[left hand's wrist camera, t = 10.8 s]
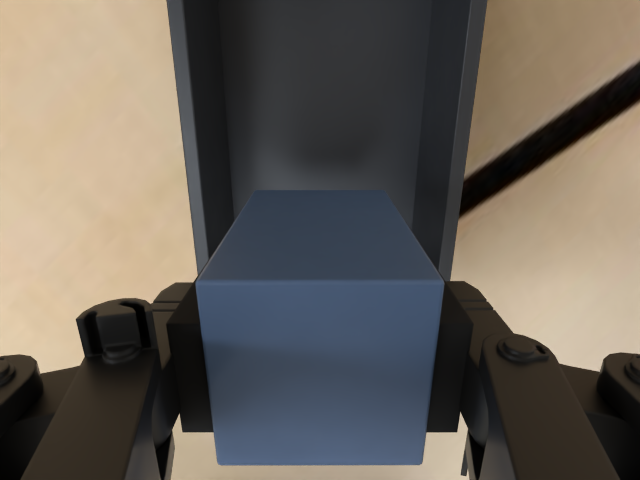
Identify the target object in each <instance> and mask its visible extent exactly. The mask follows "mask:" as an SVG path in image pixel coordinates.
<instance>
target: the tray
mask: <svg viewBox="0 0 640 480" xmlns="http://www.w3.org/2000/svg"><path fill="white" fill-rule="evenodd" d="M486 6H487V0H167V8H168V17H169V26H170V34H171V43H172V52H173V61H174V70H175V78H176V87H177V96H178V105H179V114H180V122H181V131H182V140H183V149H184V158H185V167H186V175H187V184H188V193H189V202H190V211H191V219H192V228H193V237H194V246H195V255H196V263H197V272H198V275H199V273H200V272H201V270H202V269H203V267H204V266H205V264H206V263H207V261H208V260H209V258H210V257H211V255H212V254H213V252H214V251H215V249H216V248H217V246H218V245H219V244H220V242H221V241H222V239H223V238H224V236H225V235H226V233H227V232H228V230H229V229H230V227H231V226H232V224H233V223H234V222H235V220H236V218H237V217H238V215H239V214H240V212H241V211H242V209H243V208H244V206H245V205H246V203H247V202H248V200H249V198H250V197H251V195H252V194H253V192H254V191H255V190H384V191H385V192H386V193H387V195H388V196H389V198H390V199H391V201H392V202H393V204H394V205H395V207H396V209H397V210H398V212H399V213H400V215H401V216H402V218H403V219H404V221H405V222H406V223H407V225H408V226H409V228H410V229H411V231H412V232H413V234H414V235H415V237H416V238H417V240H418V241H419V243H420V244H421V246H422V247H423V249H424V250H425V252H426V253H427V255H428V256H429V257H430V259H431V260H432V262H433V263H434V265H435V266H436V268H437V269H438V271H439V272H440V274H441V275H442V277H443V278H444V280H445V281H450V277H451V270H452V262H453V255H454V247H455V240H456V232H457V225H458V217H459V210H460V202H461V195H462V187H463V180H464V172H465V165H466V157H467V149H468V142H469V134H470V127H471V119H472V112H473V104H474V97H475V89H476V82H477V74H478V67H479V59H480V52H481V44H482V37H483V29H484V21H485V14H486Z"/></svg>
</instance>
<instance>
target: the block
mask: <svg viewBox="0 0 640 480" xmlns="http://www.w3.org/2000/svg"><path fill="white" fill-rule="evenodd" d="M195 285H196V293H197V301H198V309H199V317H200V325H201V333H202V342H203V350H204V358H205V366H206V374H207V382H208V390H209V398H210V407H211V415H212V423H213V431H214V439H215V447H216V455H217V462H218V464H219V465H420V464H422V461H423V454H424V446H425V438H426V429H427V421H428V413H429V405H430V397H431V389H432V380H433V372H434V364H435V356H436V348H437V340H438V332H439V323H440V315H441V307H442V299H443V291H444V281H443V279H442V277H441V276H440V274H439V273H438V271H437V270H436V268H435V267H434V265H433V263H432V262H431V260H430V259H429V257H428V256H427V254H426V253H425V251H424V250H423V248H422V247H421V245H420V244H419V242H418V241H417V239H416V238H415V236H414V234H413V233H412V231H411V230H410V228H409V227H408V225H407V224H406V222H405V221H404V219H403V218H402V216H401V215H400V213H399V212H398V210H397V209H396V207H395V205H394V204H393V202H392V201H391V199H390V198H389V196H388V195H387V193H386V192H385V191H384V190H255V191H254V192H253V194H252V195H251V197H250V198H249V200H248V202H247V203H246V205H245V206H244V208H243V209H242V211H241V212H240V214H239V215H238V217H237V218H236V220H235V222H234V223H233V225H232V226H231V228H230V229H229V231H228V232H227V234H226V235H225V237H224V239H223V240H222V242H221V243H220V245H219V246H218V248H217V249H216V251H215V252H214V254H213V255H212V257H211V259H210V260H209V262H208V263H207V265H206V266H205V268H204V269H203V271H202V272H201V274H200V276H199V277H198V279H197V280H196V283H195Z"/></svg>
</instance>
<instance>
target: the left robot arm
mask: <svg viewBox="0 0 640 480" xmlns="http://www.w3.org/2000/svg"><path fill="white" fill-rule="evenodd" d="M406 224H407V223H406ZM232 225H233V224H232ZM408 227H409V226H408ZM230 228H231V227H230ZM410 230H411V229H410ZM228 231H229V230H228ZM412 233H413V232H412ZM226 234H227V233H226ZM414 236H415V235H414ZM224 237H225V236H224ZM415 238H416V237H415ZM223 239H224V238H223ZM223 239H222V240H223ZM416 239H417V238H416ZM417 241H418V240H417ZM221 242H222V241H221ZM221 242H220V243H221ZM418 242H419V241H418ZM419 244H420V243H419ZM219 245H220V244H219ZM219 245H218V246H219ZM420 245H421V244H420ZM218 246H217V248H218ZM421 247H422V246H421ZM217 248H216V249H217ZM422 248H423V247H422ZM216 249H215V251H216ZM423 250H424V249H423ZM215 251H214V252H215ZM424 251H425V250H424ZM214 252H213V254H214ZM425 253H426V252H425ZM213 254H212V255H213ZM426 254H427V253H426ZM212 255H211V257H212ZM427 256H428V255H427ZM211 257H210V258H209V260H210V259H211ZM428 257H429V256H428ZM429 259H430V257H429ZM209 260H208V261H207V263H208V262H209ZM430 260H431V259H430ZM431 262H432V260H431ZM207 263H206V264H205V266H206V265H207ZM432 263H433V262H432ZM433 265H434V263H433ZM205 266H204V267H203V269H204V268H205ZM434 267H435V268H436V266H435V265H434ZM203 269H202V270H201V272H202V271H203ZM436 270H437V271H438V269H437V268H436ZM201 272H200V273H199V275H198V276H197V278H196V279H195V281H194V282H193V283H174V284H173V285H171V286H169V287H168V288H166V289H164V290H163V291H161V292H160V294H159V295H158V296H157V297H156V299H155V300H154V301H153V303H152V304H150V303H148V302H147V301H146V300H141V299H137V298H122V299H117V300H111V301H107V302H104V303H101V304H98V305H95V306H93V307H91V308H90V309H88V310H86V311H84V312H83V313H82V314H81V315H80V316H79V317H78V318H77V319H76V322H77V326H78V330H79V334H80V338H81V342H82V347H83V351H84V355H85V358H84V359H83V361H82V363H81V365H80V366H77V367H73V368H68V369H63V370H57V371H52V372H47V373H42V374H40V371H39V368H38V364H37V361H36V360H35V359H33V358H32V357H31V356H26V355H20V354H19V355H9V356H1V357H0V480H171V472H172V465H173V458H174V450H175V446H174V438H173V432H172V429H173V426H174V424H175V422H176V420H177V417H178V415H179V413H180V419H181V425H182V431H183V432H214V431H213V423H212V415H211V407H210V398H209V390H208V382H207V374H206V366H205V358H204V350H203V342H202V333H201V325H200V317H199V309H198V301H197V293H196V285H195V283H196V280H197V279H198V277H199V276H200V274H201ZM438 273H439V274H440V272H439V271H438ZM440 276H441V277H442V275H441V274H440ZM442 279H443V281H444V291H443V299H442V307H441V315H440V323H439V332H438V340H437V348H436V356H435V364H434V372H433V380H432V389H431V397H430V405H429V413H428V421H427V429H426V432H457V429H458V423H459V416H460V411H461V414H462V416H463V418H464V420H465V423H466V425H467V427H468V432H467V438H466V444H465V450H464V456H463V462H462V469H461V475H463V476H466V475H467V469H468V472H469V479H470V480H640V354H631V353H614V354H609V355H608V356H607V357H606V358H604V360H603V363H602V366H601V370H600V372H597V371H592V370H587V369H582V368H577V367H571V366H567V365H563V364H559V363H558V361H557V359H556V357H555V355H554V354H553V353H552V352H551V351H550V350H549V348H547V347H546V346H544V345H543V344H541V343H540V342H538V341H536V340H534V339H531V338H529V337H526V336H523V335H519V334H514V333H513V332H512V331H511V330H510V328H509V327H508V326H507V325H506V323H505V322H504V321H503V320H502V318H501V317H500V316H499V315H498V313H497V312H496V311H495V310H493V307H492V306H491V305H490V304H489V302H487V301H486V299H485V297H484V296H483V295H482V294H481V292H480V291H479V290H478V289H476V288H475V287H473V286H471V285H470V284H468V283H466V282H465V281H445V280H444V278H443V277H442Z"/></svg>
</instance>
